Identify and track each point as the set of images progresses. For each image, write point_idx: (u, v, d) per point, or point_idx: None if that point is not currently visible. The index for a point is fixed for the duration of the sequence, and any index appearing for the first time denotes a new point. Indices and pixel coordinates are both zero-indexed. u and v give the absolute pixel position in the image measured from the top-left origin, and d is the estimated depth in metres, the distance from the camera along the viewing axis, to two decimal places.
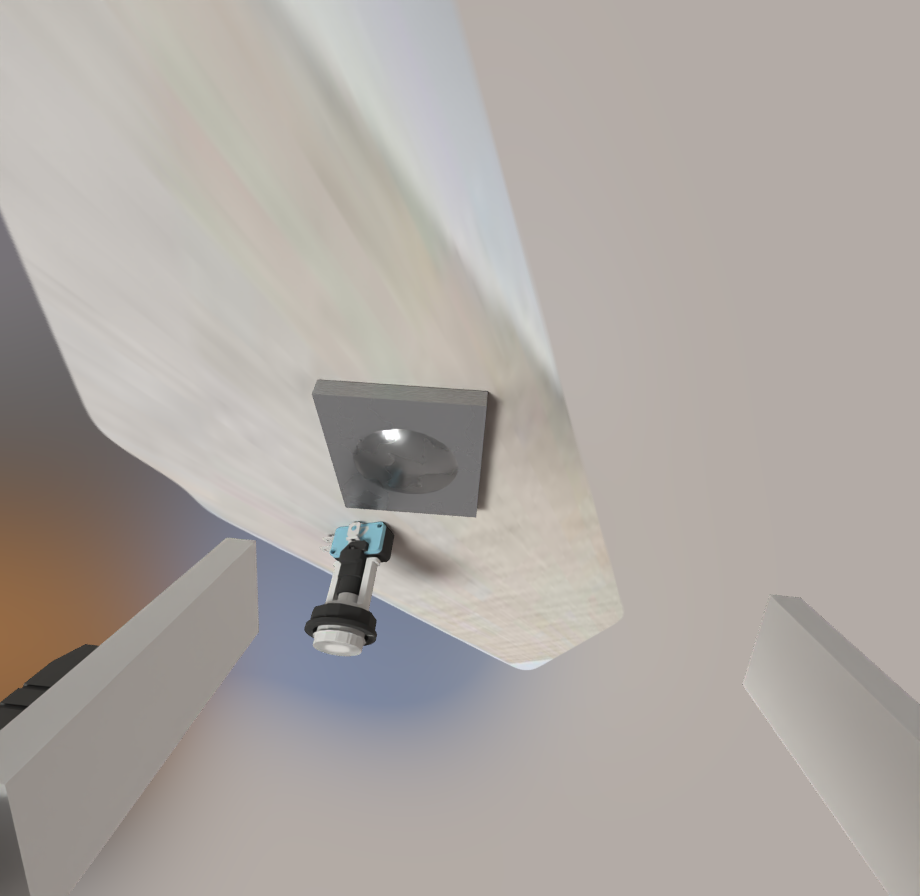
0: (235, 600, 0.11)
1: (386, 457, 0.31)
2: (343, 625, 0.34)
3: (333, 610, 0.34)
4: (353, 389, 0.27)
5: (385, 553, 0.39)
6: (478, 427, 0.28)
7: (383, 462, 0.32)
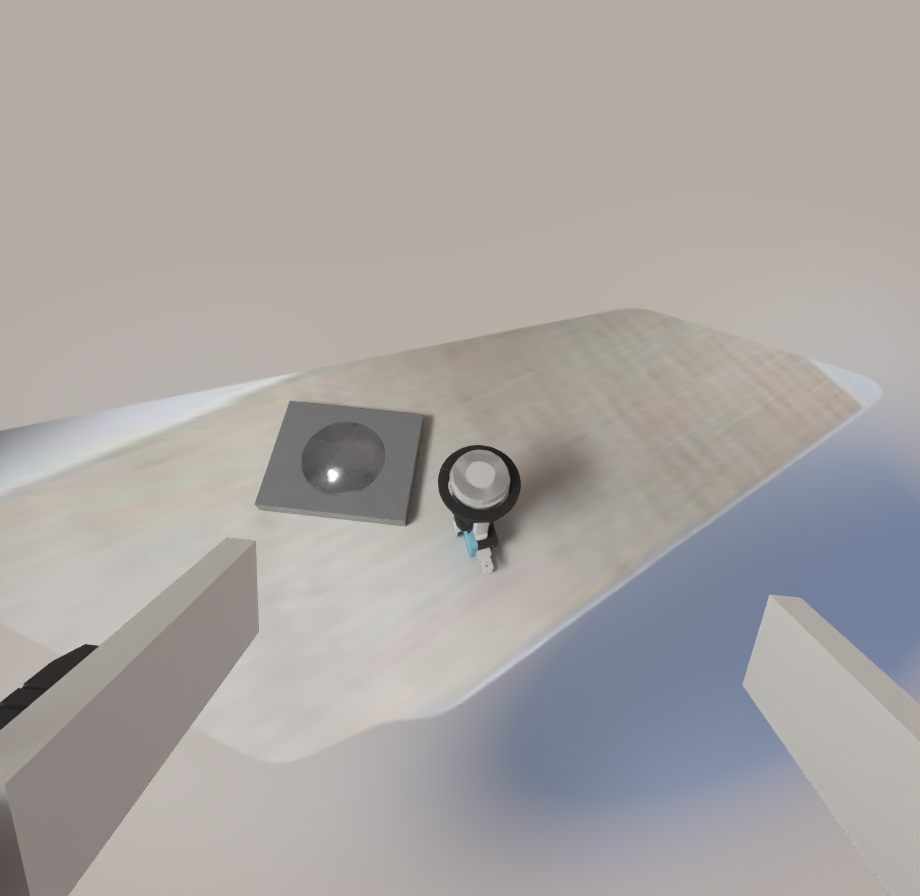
0: (235, 600, 0.11)
1: (332, 469, 0.39)
2: (448, 469, 0.31)
3: None
4: None
5: None
6: (309, 406, 0.42)
7: (338, 472, 0.39)
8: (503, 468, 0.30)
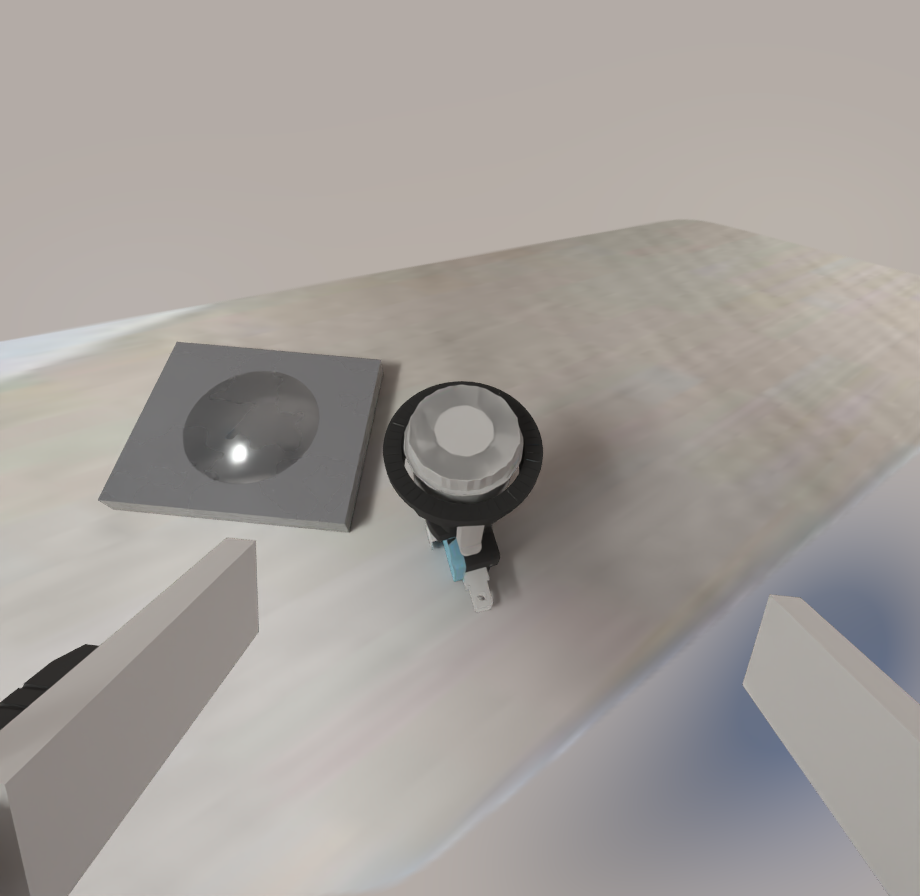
0: (235, 600, 0.11)
1: (232, 442, 0.25)
2: (403, 425, 0.16)
3: None
4: None
5: None
6: (205, 349, 0.27)
7: (242, 447, 0.24)
8: (509, 418, 0.15)
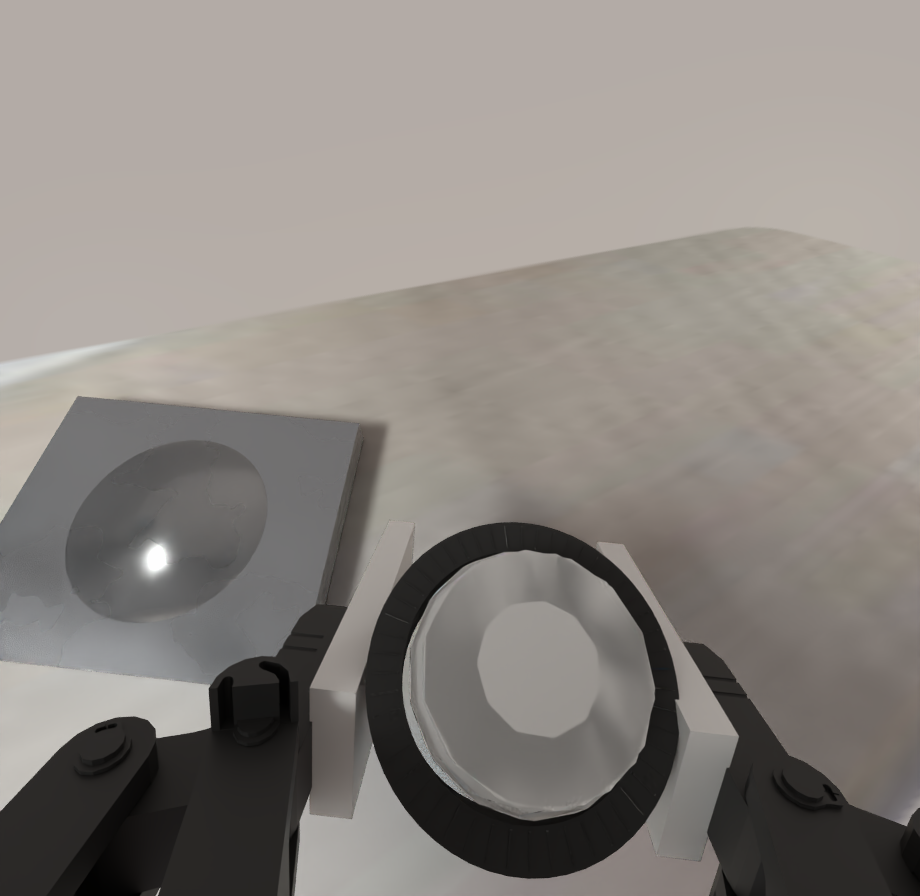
0: None
1: (138, 553, 0.17)
2: (406, 620, 0.08)
3: None
4: None
5: None
6: (116, 407, 0.20)
7: (151, 562, 0.17)
8: (627, 634, 0.08)
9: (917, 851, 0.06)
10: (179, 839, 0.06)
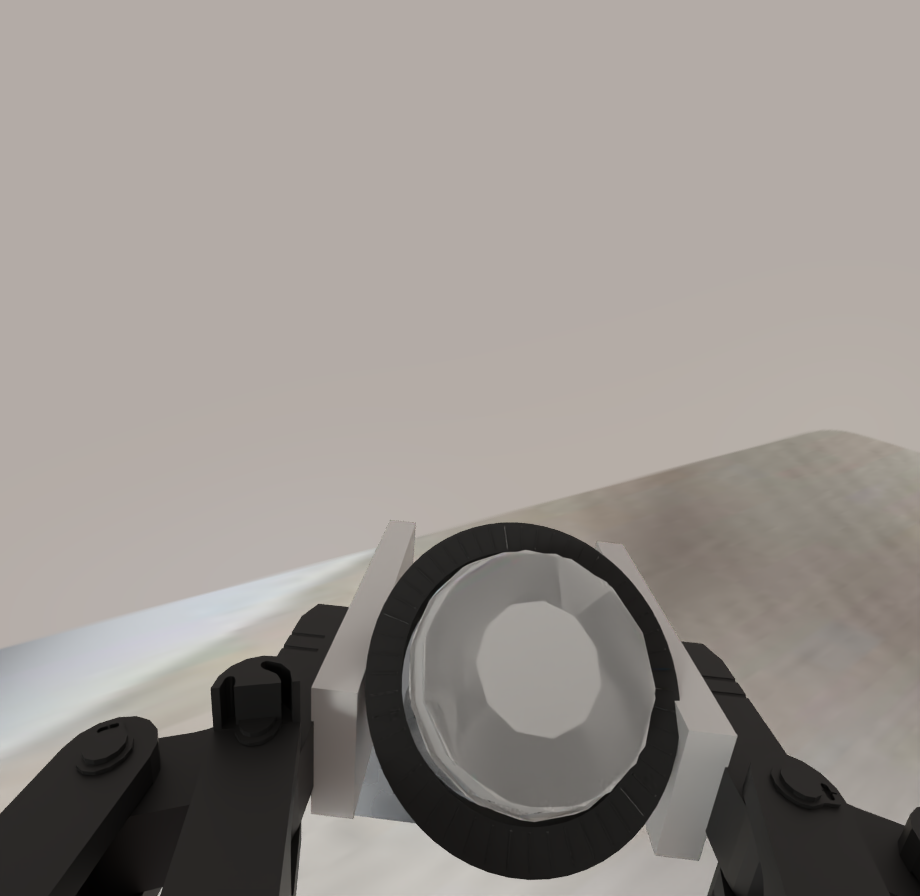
0: None
1: None
2: (406, 620, 0.08)
3: None
4: None
5: None
6: None
7: None
8: (627, 634, 0.07)
9: (915, 851, 0.06)
10: (181, 837, 0.06)
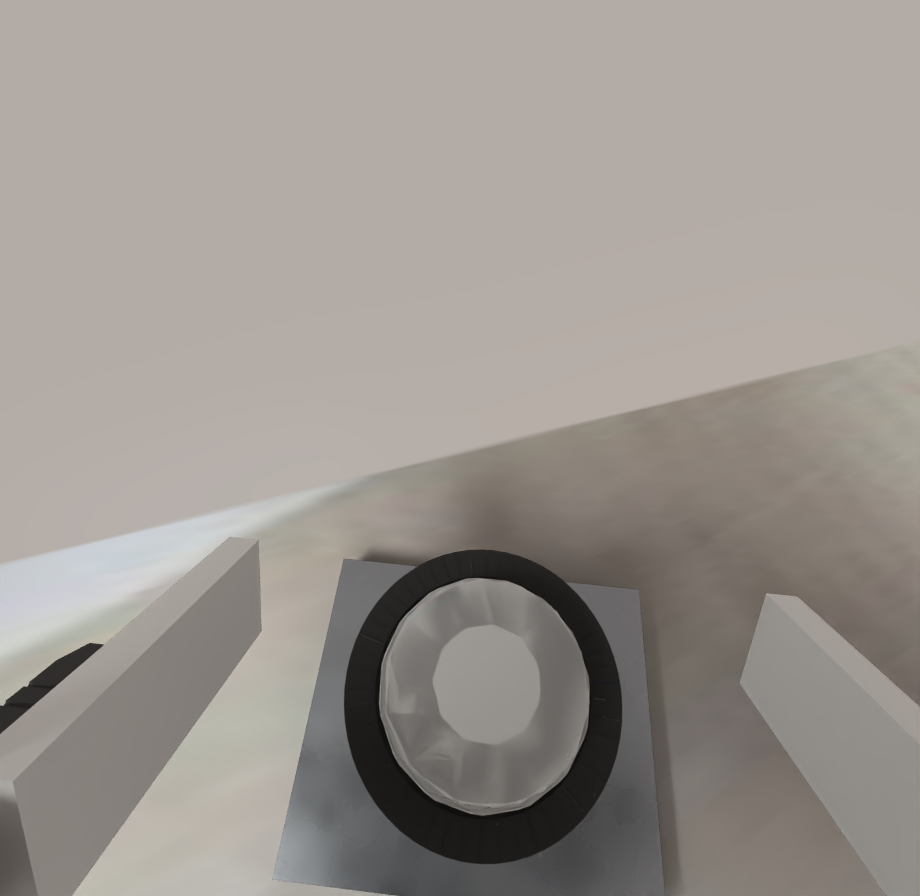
0: (238, 599, 0.11)
1: None
2: (380, 640, 0.09)
3: None
4: None
5: None
6: (387, 571, 0.19)
7: None
8: (567, 653, 0.09)
9: None
10: None
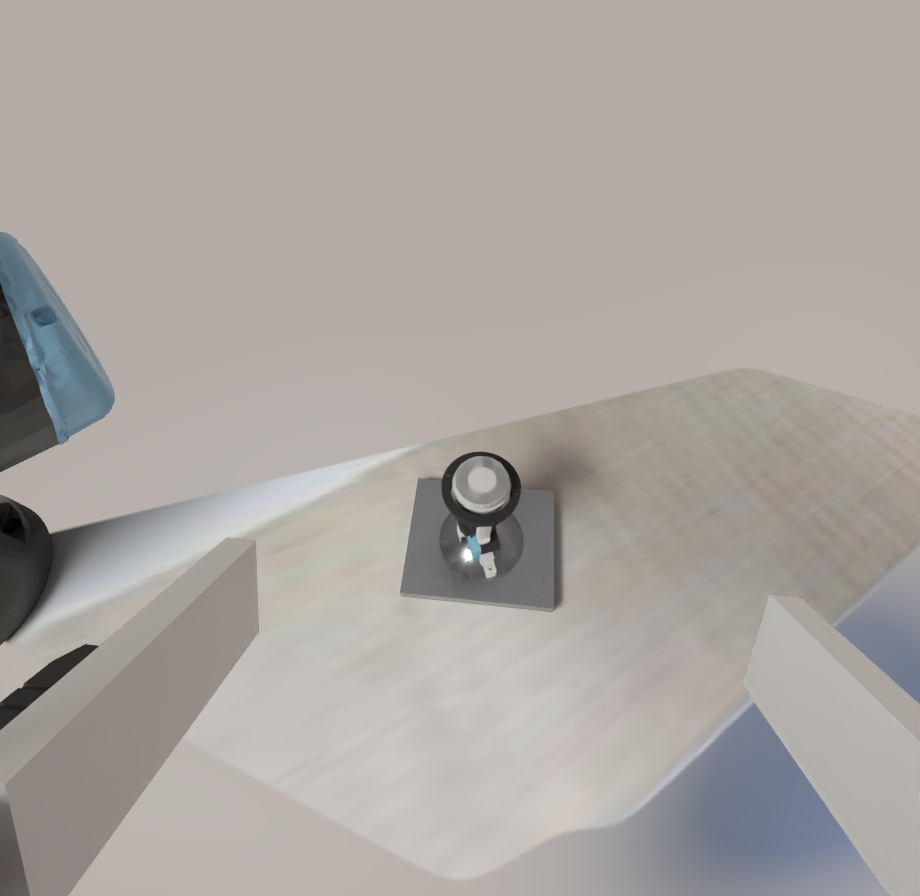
0: (235, 600, 0.11)
1: None
2: (450, 475, 0.32)
3: None
4: None
5: None
6: (438, 483, 0.42)
7: None
8: (504, 473, 0.31)
9: None
10: None
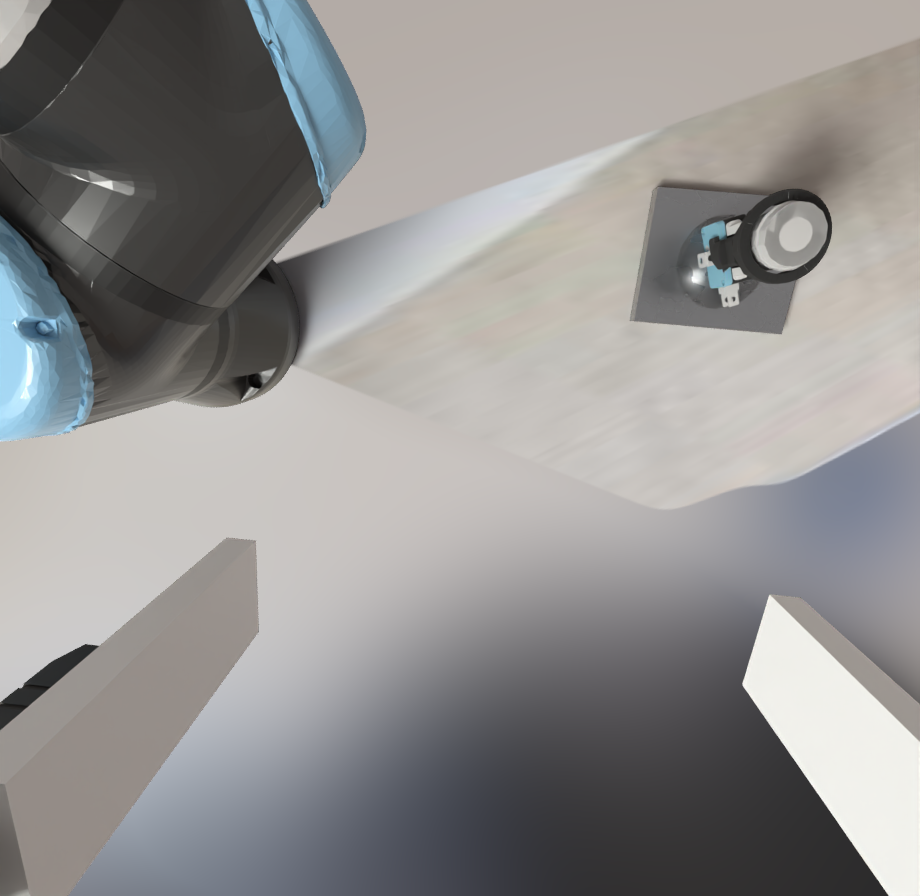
0: (235, 600, 0.11)
1: None
2: (752, 224, 0.29)
3: (736, 242, 0.30)
4: (637, 292, 0.39)
5: None
6: (681, 193, 0.36)
7: None
8: (823, 225, 0.28)
9: None
10: None
